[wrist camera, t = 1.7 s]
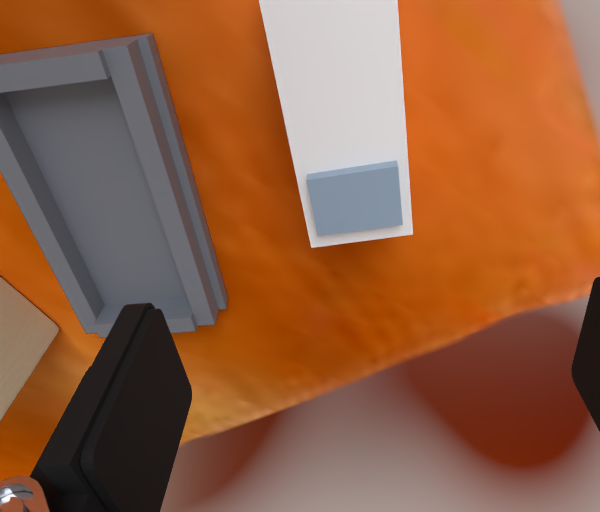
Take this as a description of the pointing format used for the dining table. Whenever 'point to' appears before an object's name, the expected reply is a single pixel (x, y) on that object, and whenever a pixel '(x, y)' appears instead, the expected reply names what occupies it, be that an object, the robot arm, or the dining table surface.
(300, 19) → the white box
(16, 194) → the tray
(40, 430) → the dining table surface
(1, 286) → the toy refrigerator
